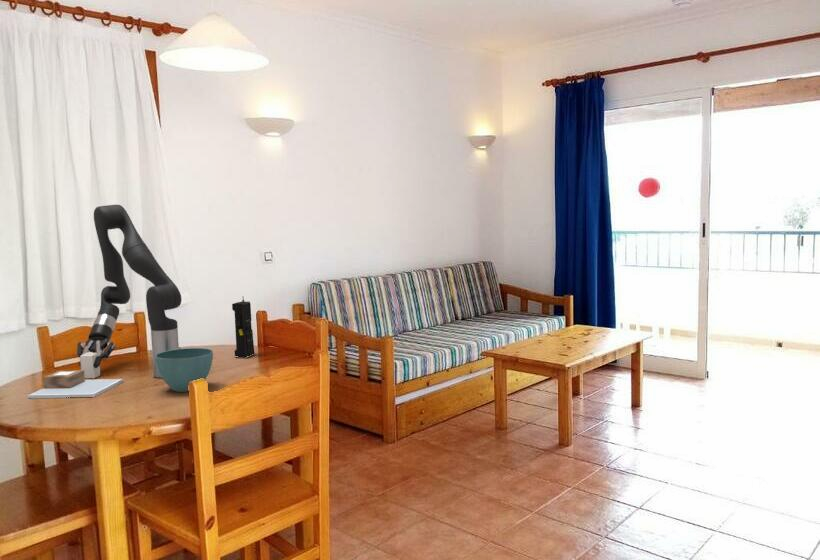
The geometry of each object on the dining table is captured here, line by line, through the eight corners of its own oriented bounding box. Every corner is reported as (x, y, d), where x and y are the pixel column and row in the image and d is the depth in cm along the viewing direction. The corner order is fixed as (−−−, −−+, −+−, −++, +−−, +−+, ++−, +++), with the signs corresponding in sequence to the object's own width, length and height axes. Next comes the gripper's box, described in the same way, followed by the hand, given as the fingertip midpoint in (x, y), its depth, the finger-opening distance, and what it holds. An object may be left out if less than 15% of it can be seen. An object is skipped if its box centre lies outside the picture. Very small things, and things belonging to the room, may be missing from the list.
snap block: (100, 375, 237) (98, 351, 236) (93, 378, 233) (92, 353, 232) (88, 375, 237) (86, 351, 236) (81, 378, 233) (79, 354, 232)
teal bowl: (184, 380, 226) (182, 346, 225) (226, 384, 219) (224, 349, 218) (145, 393, 210) (143, 356, 208) (189, 398, 203) (186, 360, 201)
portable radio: (247, 359, 260) (244, 298, 257) (233, 358, 261) (230, 298, 258) (255, 354, 267) (252, 295, 265) (242, 354, 268) (239, 295, 266)
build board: (123, 381, 226) (122, 367, 226) (93, 397, 206) (92, 382, 206) (62, 382, 227) (61, 368, 227) (27, 398, 207) (26, 383, 207)
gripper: (80, 323, 241) (64, 361, 230) (117, 322, 241) (103, 361, 230) (88, 334, 247) (73, 372, 236) (125, 334, 247) (111, 372, 236)
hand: (88, 366), depth 233 cm, fingers closed on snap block, 4 cm apart
